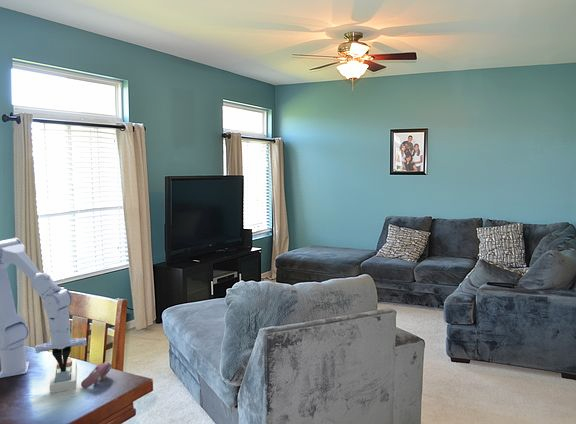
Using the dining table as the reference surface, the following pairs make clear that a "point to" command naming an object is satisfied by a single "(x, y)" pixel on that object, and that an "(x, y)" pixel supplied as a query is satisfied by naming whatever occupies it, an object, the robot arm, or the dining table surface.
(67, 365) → the terracotta key
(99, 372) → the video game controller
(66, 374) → the slate key
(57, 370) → the sage key
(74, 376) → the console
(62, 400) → the dining table surface
